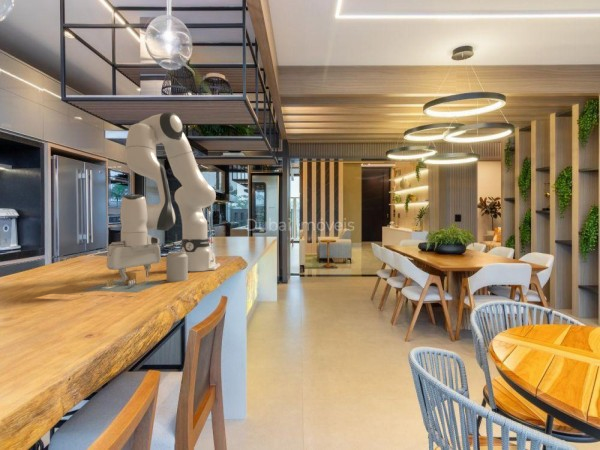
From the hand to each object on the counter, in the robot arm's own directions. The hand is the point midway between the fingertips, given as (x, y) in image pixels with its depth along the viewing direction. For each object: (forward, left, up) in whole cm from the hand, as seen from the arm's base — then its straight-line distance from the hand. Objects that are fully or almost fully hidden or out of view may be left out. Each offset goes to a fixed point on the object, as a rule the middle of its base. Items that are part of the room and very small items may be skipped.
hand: (135, 279), depth 138 cm
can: (-8, +12, -3) cm, 15 cm away
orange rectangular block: (0, 0, -1) cm, 1 cm away
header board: (+5, 0, -3) cm, 6 cm away
